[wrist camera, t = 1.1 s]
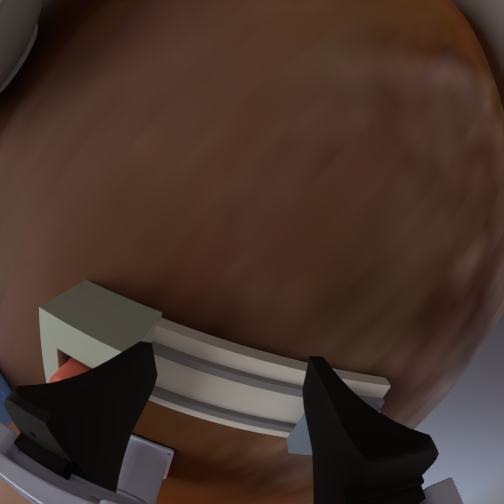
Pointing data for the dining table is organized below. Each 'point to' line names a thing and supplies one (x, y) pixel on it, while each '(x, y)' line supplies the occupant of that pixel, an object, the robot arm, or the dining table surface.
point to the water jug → (0, 393)
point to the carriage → (300, 435)
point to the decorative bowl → (16, 35)
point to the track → (185, 361)
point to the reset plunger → (69, 370)
